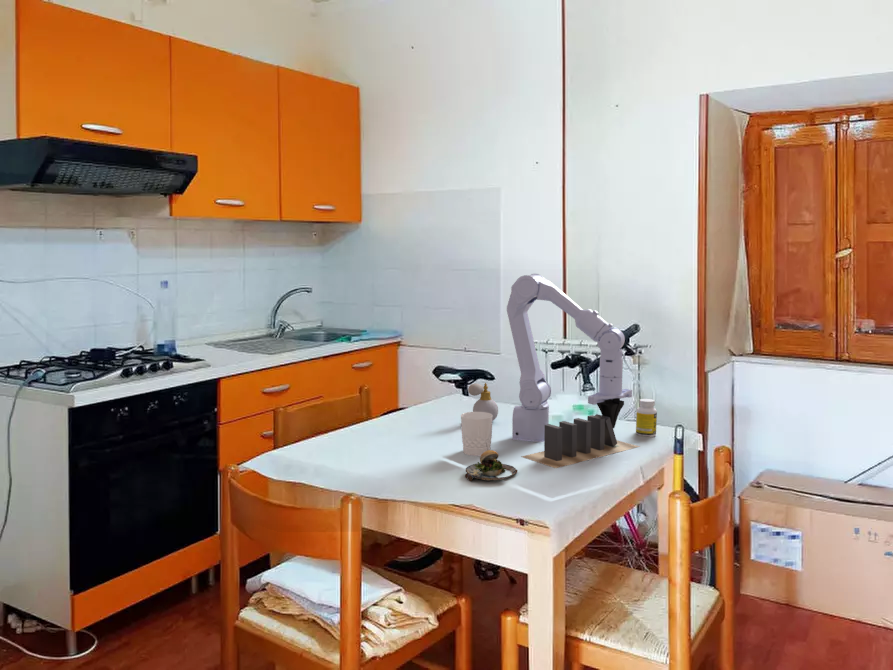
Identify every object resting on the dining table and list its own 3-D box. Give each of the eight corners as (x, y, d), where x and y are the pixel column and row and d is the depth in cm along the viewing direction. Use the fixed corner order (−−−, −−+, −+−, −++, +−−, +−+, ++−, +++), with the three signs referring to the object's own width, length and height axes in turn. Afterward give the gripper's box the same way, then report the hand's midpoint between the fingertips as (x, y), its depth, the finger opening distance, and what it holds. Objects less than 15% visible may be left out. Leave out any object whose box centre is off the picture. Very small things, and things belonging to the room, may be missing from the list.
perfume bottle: (502, 420, 229) (502, 380, 228) (489, 427, 221) (489, 386, 219) (478, 417, 233) (478, 378, 231) (465, 425, 224) (465, 384, 222)
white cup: (496, 451, 197) (496, 412, 196) (487, 459, 189) (487, 419, 188) (466, 448, 199) (466, 410, 198) (456, 457, 192) (456, 417, 191)
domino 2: (571, 457, 189) (572, 425, 188) (558, 453, 192) (559, 421, 191) (576, 456, 190) (576, 424, 189) (563, 452, 193) (563, 421, 192)
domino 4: (599, 450, 195) (600, 419, 194) (586, 446, 198) (587, 416, 197) (604, 449, 196) (604, 418, 195) (591, 445, 199) (591, 415, 198)
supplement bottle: (656, 438, 208) (657, 402, 207) (636, 437, 209) (637, 401, 208) (655, 433, 214) (656, 398, 212) (635, 432, 215) (636, 397, 213)
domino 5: (613, 446, 198) (605, 420, 195) (600, 443, 201) (592, 417, 198) (617, 443, 199) (609, 417, 196) (604, 439, 202) (596, 414, 199)
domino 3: (586, 453, 192) (586, 422, 191) (573, 450, 195) (573, 418, 194) (590, 452, 193) (591, 421, 192) (577, 448, 196) (578, 418, 195)
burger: (465, 485, 171) (465, 452, 170) (464, 469, 183) (464, 438, 182) (519, 485, 171) (520, 452, 170) (514, 469, 183) (515, 438, 182)
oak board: (555, 470, 180) (555, 467, 180) (520, 458, 190) (520, 456, 190) (640, 448, 198) (640, 446, 198) (604, 439, 208) (604, 436, 208)
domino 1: (557, 461, 186) (557, 428, 185) (544, 456, 189) (544, 425, 188) (561, 459, 187) (562, 427, 186) (549, 455, 190) (549, 424, 189)
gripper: (603, 381, 190) (602, 435, 192) (641, 374, 199) (640, 426, 201) (582, 377, 196) (581, 429, 198) (620, 371, 205) (619, 421, 206)
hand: (609, 428), depth 200 cm, fingers closed
